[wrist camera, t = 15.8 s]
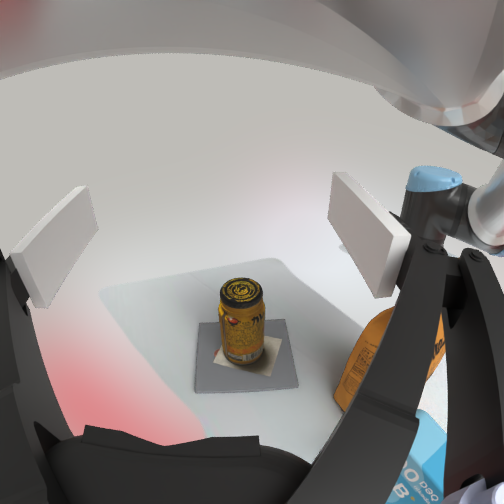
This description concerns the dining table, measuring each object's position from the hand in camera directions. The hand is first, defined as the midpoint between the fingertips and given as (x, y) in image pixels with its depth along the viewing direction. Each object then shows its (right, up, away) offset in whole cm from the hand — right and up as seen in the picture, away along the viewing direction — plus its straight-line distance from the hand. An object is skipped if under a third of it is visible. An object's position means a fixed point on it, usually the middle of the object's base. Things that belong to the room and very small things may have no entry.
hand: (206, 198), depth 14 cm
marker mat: (+1, -18, +27) cm, 33 cm away
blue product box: (+19, -31, +8) cm, 37 cm away
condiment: (+2, -18, +27) cm, 32 cm away
